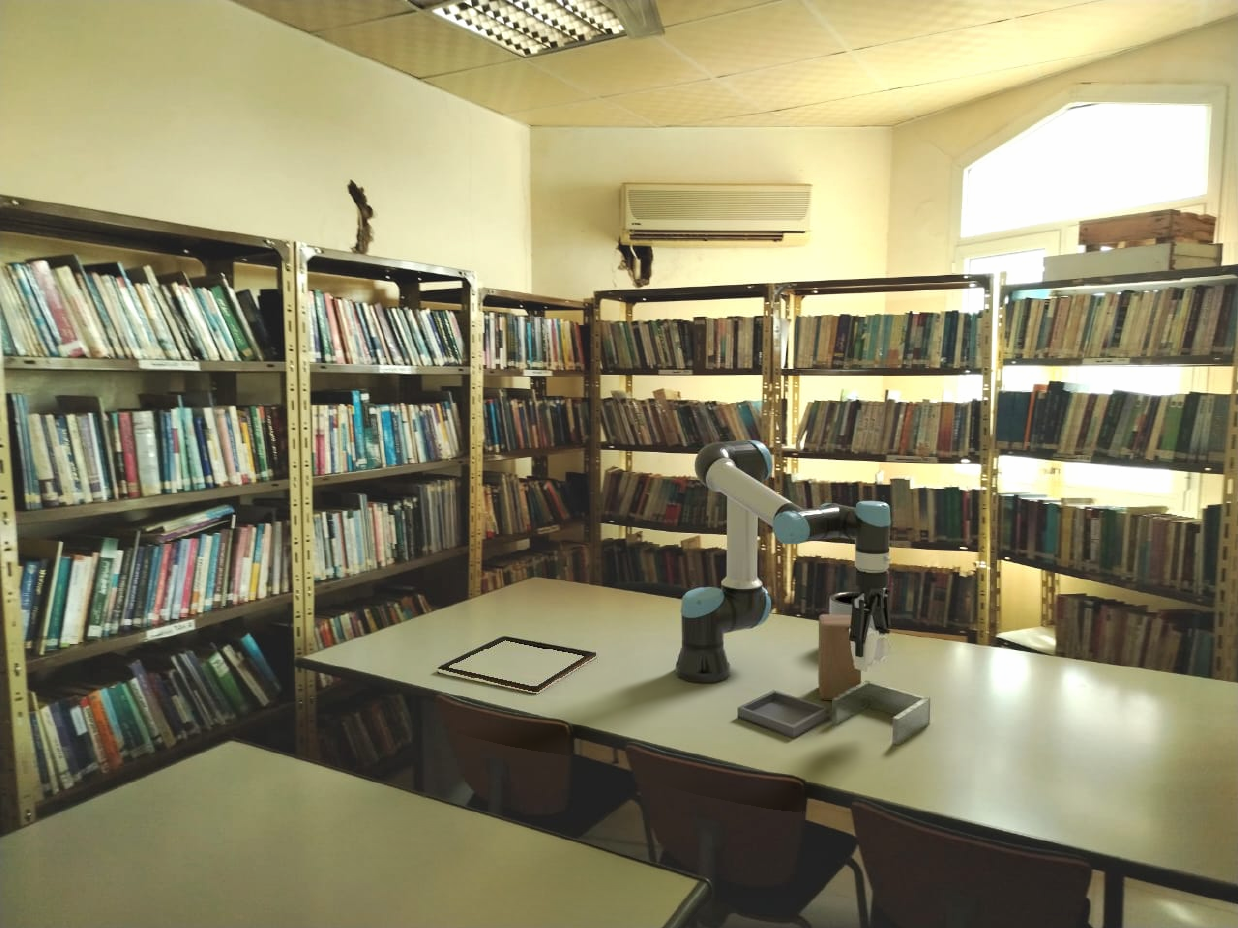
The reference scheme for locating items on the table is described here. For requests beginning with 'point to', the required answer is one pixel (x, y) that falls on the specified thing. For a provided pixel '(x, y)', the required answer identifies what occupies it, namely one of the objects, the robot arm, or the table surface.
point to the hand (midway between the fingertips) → (869, 664)
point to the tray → (783, 713)
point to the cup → (871, 647)
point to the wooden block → (835, 657)
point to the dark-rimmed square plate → (586, 654)
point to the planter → (845, 605)
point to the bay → (885, 707)
